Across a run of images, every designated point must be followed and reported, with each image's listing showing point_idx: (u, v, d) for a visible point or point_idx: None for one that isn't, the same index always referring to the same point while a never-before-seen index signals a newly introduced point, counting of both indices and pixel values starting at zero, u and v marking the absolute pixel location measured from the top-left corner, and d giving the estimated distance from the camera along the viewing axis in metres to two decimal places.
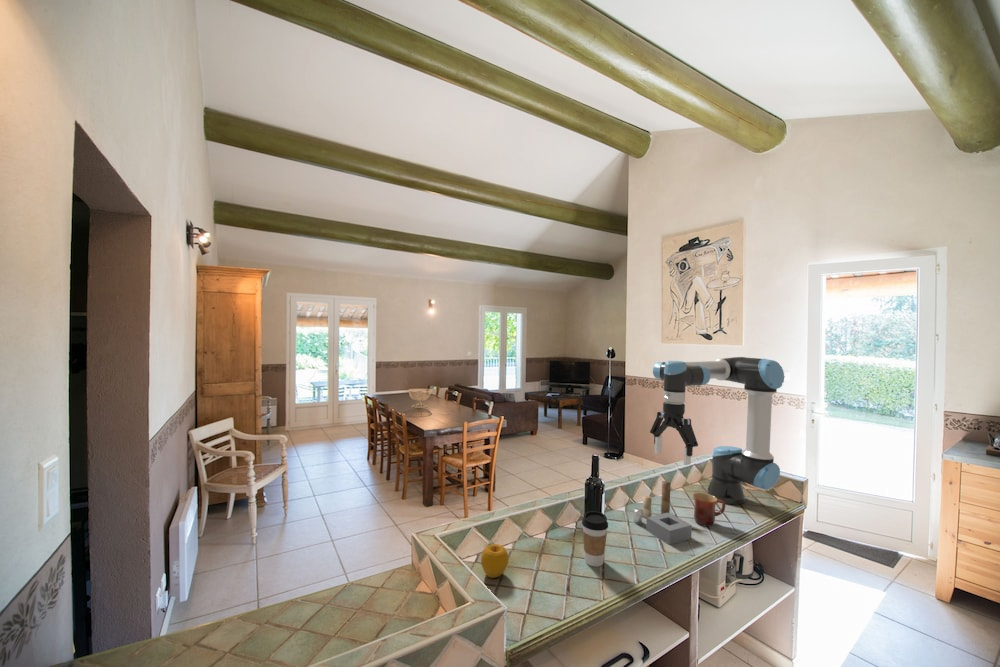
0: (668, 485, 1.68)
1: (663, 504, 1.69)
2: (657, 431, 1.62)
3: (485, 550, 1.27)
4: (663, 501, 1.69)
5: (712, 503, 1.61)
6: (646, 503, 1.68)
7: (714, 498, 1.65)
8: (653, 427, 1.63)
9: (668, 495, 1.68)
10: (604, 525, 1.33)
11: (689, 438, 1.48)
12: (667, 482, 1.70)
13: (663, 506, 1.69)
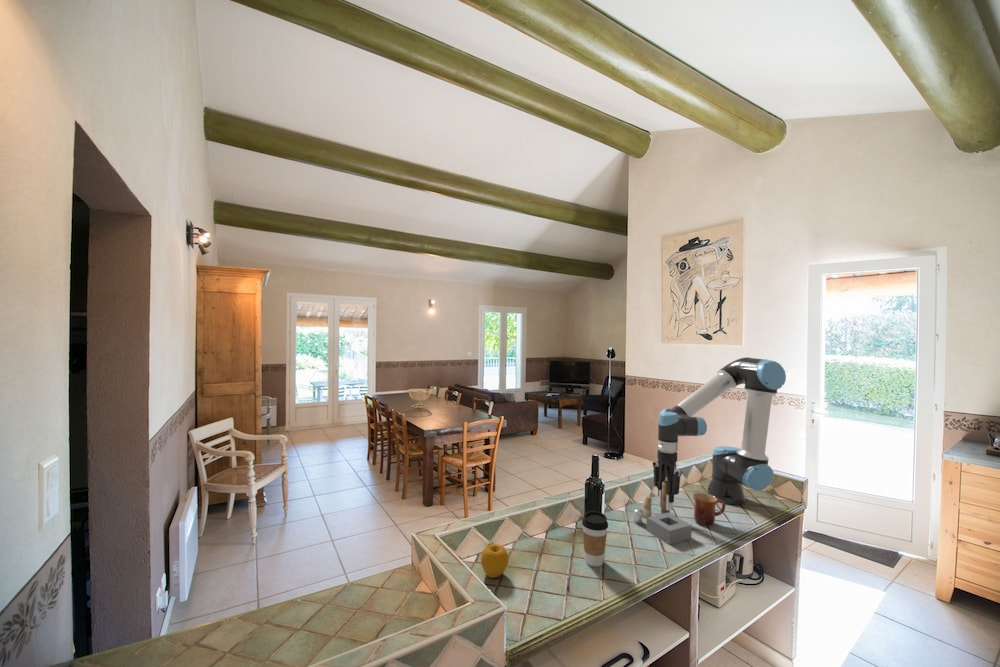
0: None
1: (663, 504, 1.69)
2: (659, 483, 1.72)
3: (485, 550, 1.27)
4: (663, 501, 1.69)
5: (712, 503, 1.61)
6: (646, 503, 1.68)
7: (714, 498, 1.65)
8: (655, 479, 1.74)
9: None
10: (604, 525, 1.33)
11: (673, 487, 1.65)
12: None
13: (663, 506, 1.69)
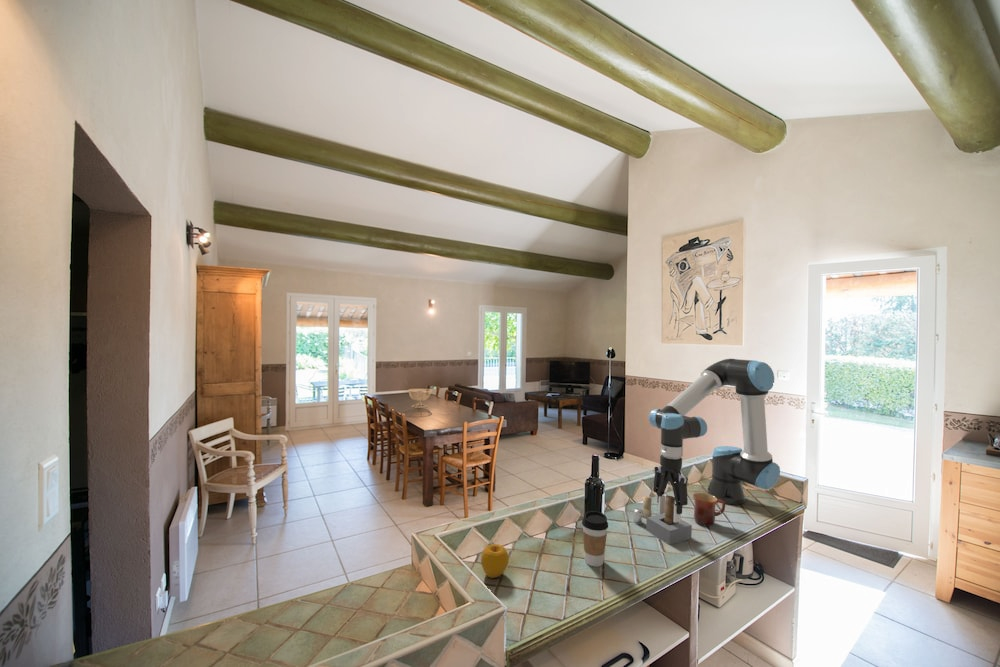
0: (672, 501, 1.53)
1: (666, 521, 1.54)
2: (659, 489, 1.58)
3: (485, 550, 1.27)
4: (666, 518, 1.54)
5: (712, 503, 1.61)
6: (646, 503, 1.68)
7: (714, 498, 1.65)
8: (655, 485, 1.60)
9: (672, 512, 1.53)
10: (604, 525, 1.33)
11: (681, 497, 1.49)
12: (671, 497, 1.54)
13: (666, 523, 1.54)
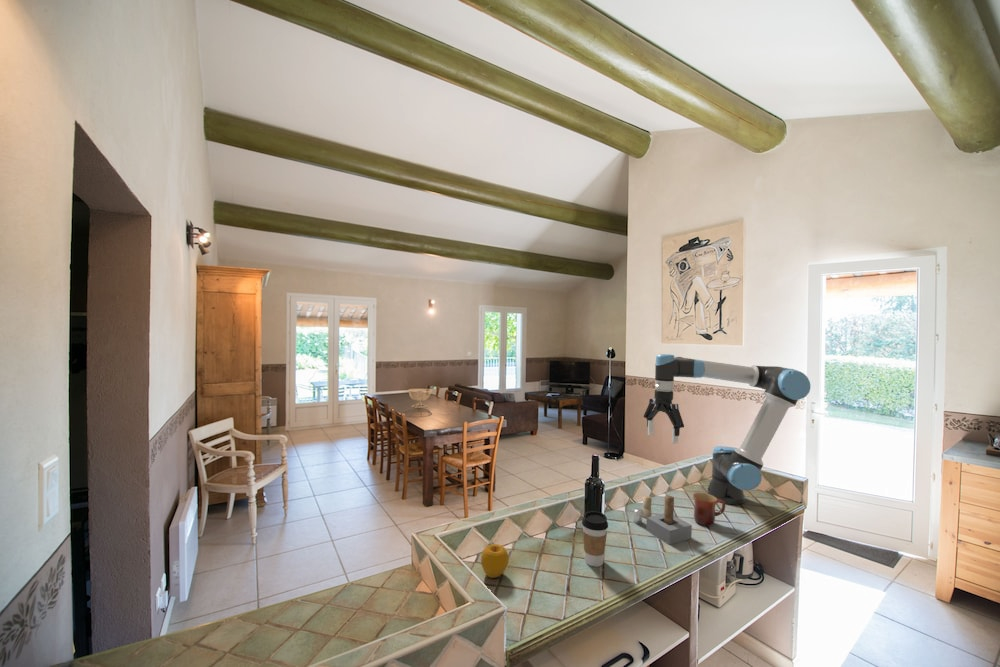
0: (671, 500, 1.53)
1: (666, 521, 1.54)
2: (649, 415, 1.85)
3: (485, 550, 1.27)
4: (666, 518, 1.54)
5: (712, 503, 1.61)
6: (646, 503, 1.68)
7: (714, 498, 1.65)
8: (646, 412, 1.87)
9: (671, 511, 1.54)
10: (604, 525, 1.33)
11: (676, 420, 1.72)
12: (670, 497, 1.55)
13: (666, 523, 1.54)
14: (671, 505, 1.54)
